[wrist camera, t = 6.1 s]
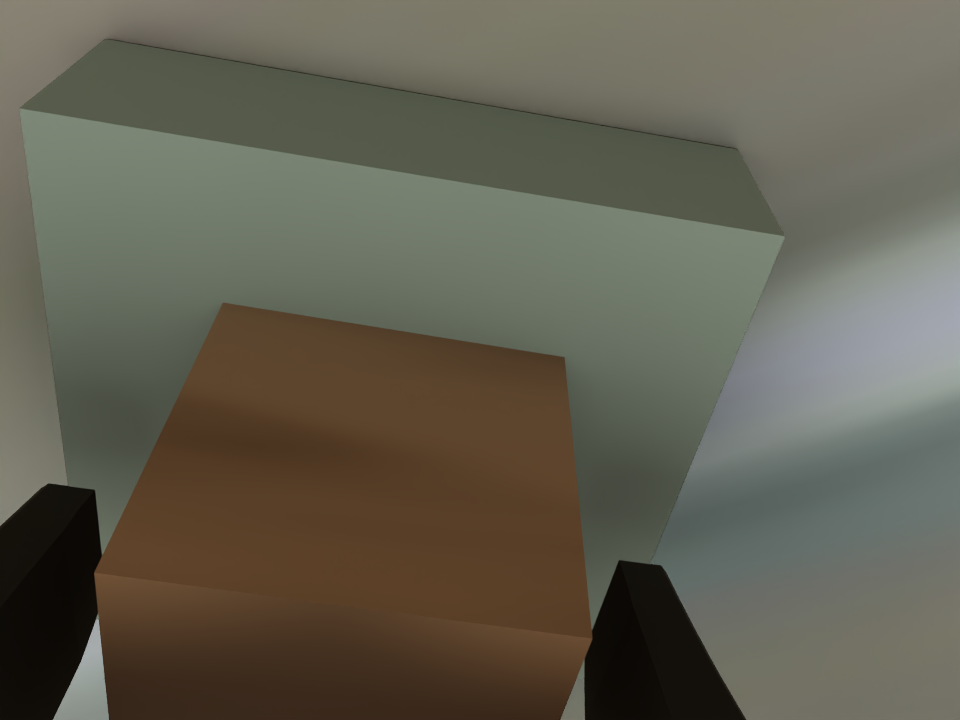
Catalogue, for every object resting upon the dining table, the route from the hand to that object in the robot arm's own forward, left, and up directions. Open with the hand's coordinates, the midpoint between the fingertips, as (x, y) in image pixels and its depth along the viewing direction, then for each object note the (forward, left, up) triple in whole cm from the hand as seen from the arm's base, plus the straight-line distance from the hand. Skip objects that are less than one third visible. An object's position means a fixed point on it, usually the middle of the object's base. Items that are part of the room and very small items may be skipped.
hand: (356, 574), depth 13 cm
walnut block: (0, 0, -2) cm, 2 cm away
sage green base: (0, 0, -5) cm, 5 cm away
